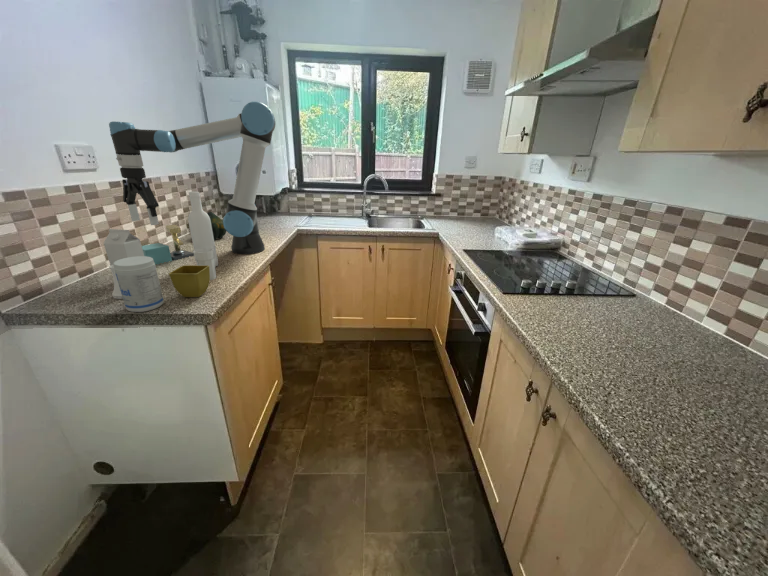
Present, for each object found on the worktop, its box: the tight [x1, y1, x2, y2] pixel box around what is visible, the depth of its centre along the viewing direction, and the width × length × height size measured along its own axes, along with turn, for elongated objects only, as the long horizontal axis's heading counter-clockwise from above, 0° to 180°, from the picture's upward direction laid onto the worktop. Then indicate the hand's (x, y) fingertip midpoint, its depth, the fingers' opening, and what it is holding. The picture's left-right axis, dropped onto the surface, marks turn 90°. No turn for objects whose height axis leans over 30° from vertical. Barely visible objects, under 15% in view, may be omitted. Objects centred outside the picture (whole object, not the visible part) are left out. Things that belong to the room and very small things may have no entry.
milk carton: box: [103, 228, 144, 266], centre depth 111 cm, size 7×7×19 cm
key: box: [165, 224, 184, 251], centre depth 139 cm, size 4×14×11 cm, turn 42°
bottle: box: [187, 191, 219, 268], centre depth 127 cm, size 8×8×30 cm
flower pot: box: [168, 264, 211, 298], centre depth 104 cm, size 9×9×9 cm
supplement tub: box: [113, 256, 165, 313], centre depth 94 cm, size 10×10×15 cm
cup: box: [192, 248, 217, 281], centre depth 117 cm, size 7×7×11 cm
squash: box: [206, 211, 227, 241], centre depth 174 cm, size 14×15×15 cm
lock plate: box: [170, 249, 194, 261], centre depth 143 cm, size 9×9×2 cm
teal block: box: [141, 242, 173, 266], centre depth 134 cm, size 8×9×7 cm
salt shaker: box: [108, 265, 123, 300], centre depth 102 cm, size 8×8×10 cm
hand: (145, 222), depth 129 cm, fingers open, 13 cm apart
